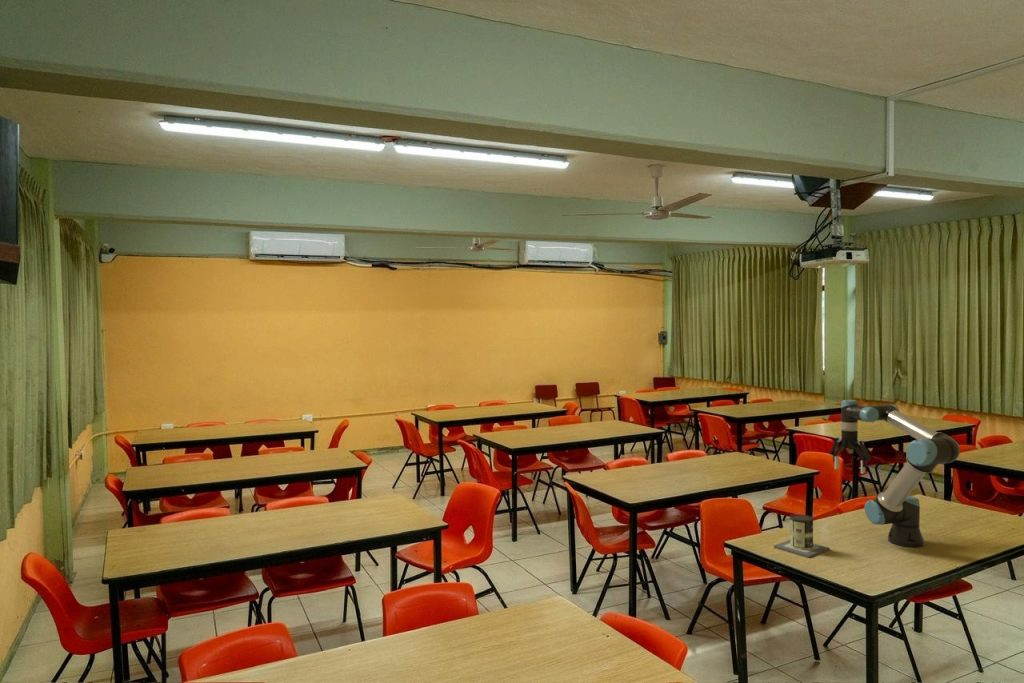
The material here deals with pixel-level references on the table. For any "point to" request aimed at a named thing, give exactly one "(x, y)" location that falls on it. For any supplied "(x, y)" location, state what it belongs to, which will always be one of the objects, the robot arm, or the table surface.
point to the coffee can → (801, 532)
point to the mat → (805, 553)
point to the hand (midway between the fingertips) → (849, 470)
